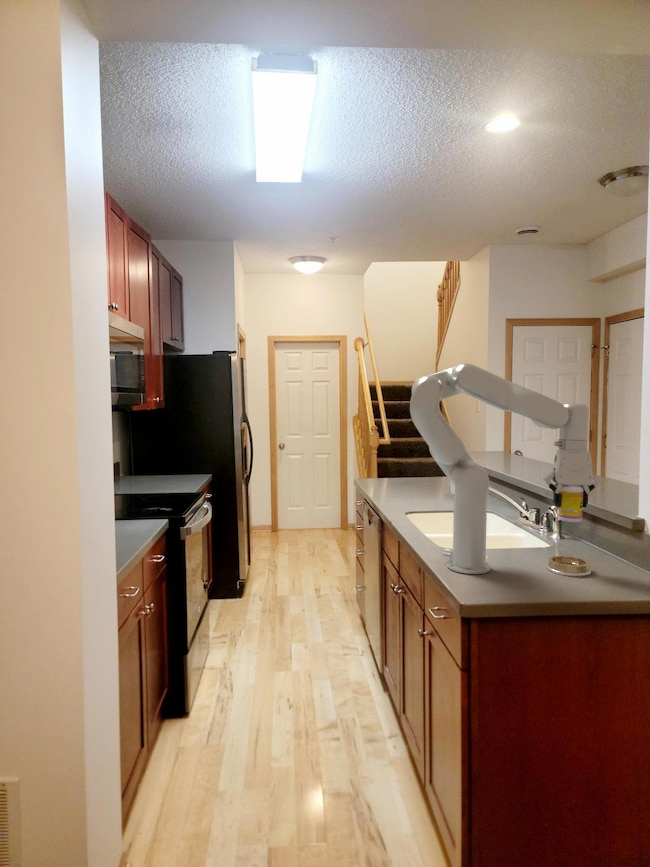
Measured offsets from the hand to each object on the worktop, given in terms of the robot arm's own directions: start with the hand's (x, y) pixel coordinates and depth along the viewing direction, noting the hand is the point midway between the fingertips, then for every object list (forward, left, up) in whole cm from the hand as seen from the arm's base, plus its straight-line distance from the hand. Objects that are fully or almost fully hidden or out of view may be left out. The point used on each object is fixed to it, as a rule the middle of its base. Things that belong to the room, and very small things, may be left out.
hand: (570, 506), depth 161 cm
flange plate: (0, 0, -19) cm, 19 cm away
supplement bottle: (0, 0, -4) cm, 4 cm away
